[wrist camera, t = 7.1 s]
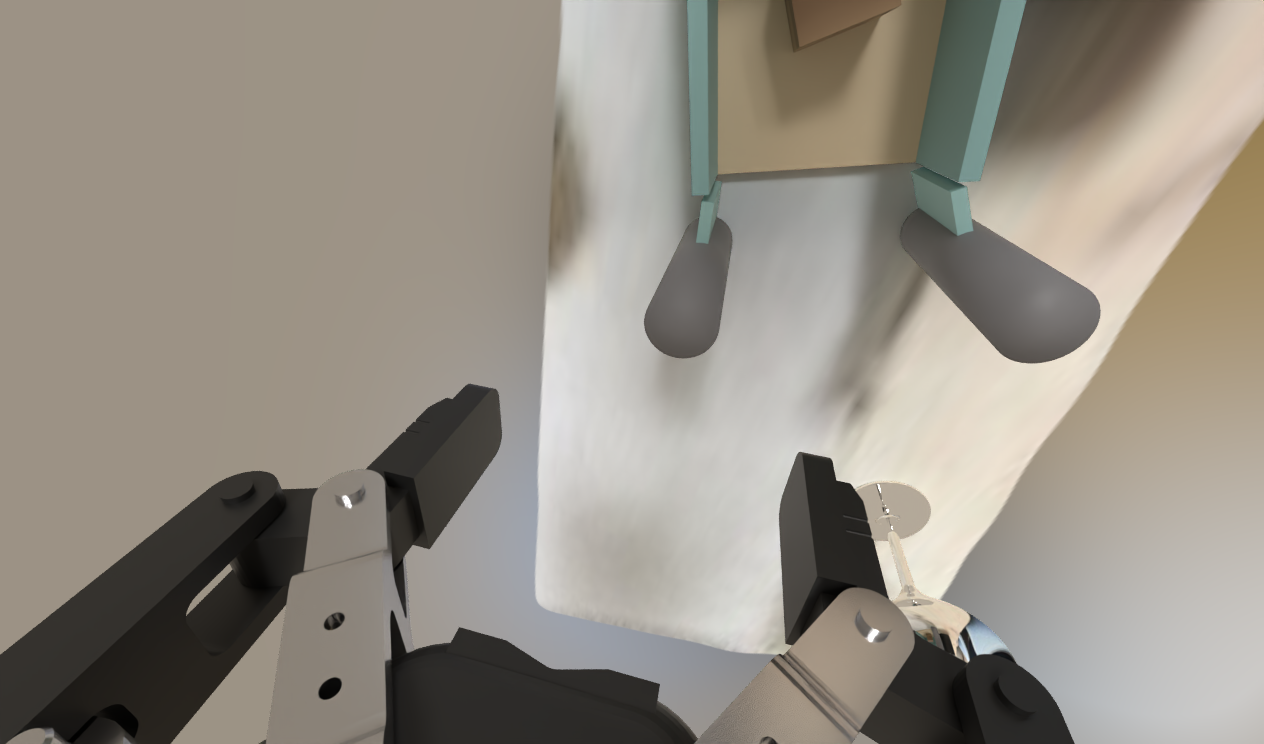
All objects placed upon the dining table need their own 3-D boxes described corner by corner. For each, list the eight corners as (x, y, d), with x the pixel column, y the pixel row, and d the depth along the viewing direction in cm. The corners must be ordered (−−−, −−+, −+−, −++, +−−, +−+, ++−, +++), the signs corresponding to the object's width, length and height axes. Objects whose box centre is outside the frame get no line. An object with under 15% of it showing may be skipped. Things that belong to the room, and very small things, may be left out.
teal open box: (701, -157, 22) (681, -249, 16) (1006, -225, 19) (1121, -367, 13) (704, 173, 28) (691, 195, 23) (929, 159, 26) (980, 180, 20)
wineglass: (941, 466, 35) (1082, 753, 20) (945, 543, 38) (1068, 838, 23) (823, 477, 38) (868, 736, 23) (837, 548, 41) (883, 814, 26)
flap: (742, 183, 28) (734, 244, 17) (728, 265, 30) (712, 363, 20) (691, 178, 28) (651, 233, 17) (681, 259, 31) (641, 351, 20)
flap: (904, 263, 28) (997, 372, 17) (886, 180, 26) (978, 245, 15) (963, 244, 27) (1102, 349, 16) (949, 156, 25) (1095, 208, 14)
